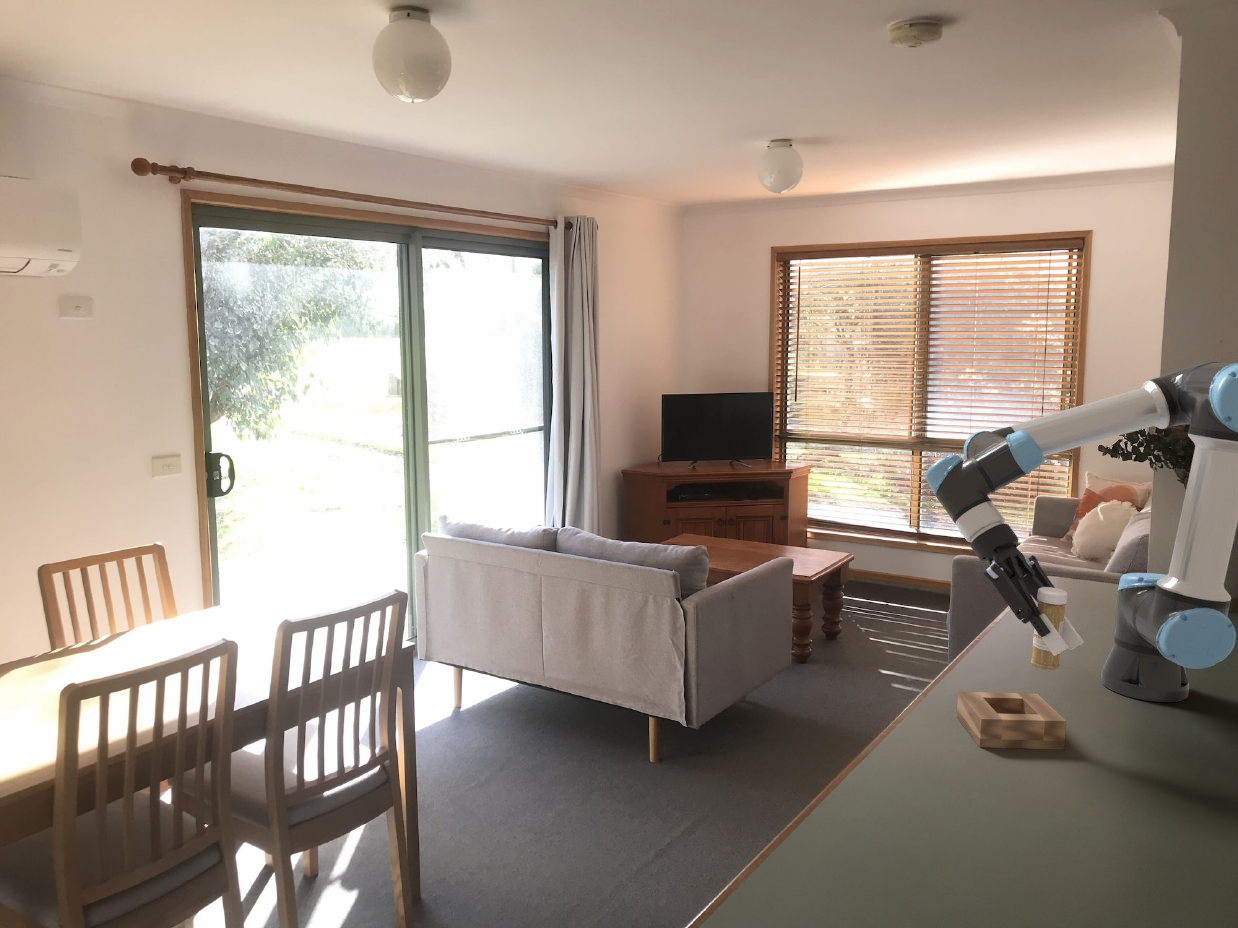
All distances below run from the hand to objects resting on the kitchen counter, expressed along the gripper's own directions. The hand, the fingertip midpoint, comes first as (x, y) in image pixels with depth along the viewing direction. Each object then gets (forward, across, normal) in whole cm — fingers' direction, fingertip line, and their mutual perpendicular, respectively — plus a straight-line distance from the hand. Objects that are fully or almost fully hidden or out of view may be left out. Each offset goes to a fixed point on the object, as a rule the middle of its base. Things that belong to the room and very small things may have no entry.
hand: (1069, 648), depth 153 cm
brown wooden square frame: (+7, +2, -18) cm, 19 cm away
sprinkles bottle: (0, 0, -6) cm, 6 cm away
